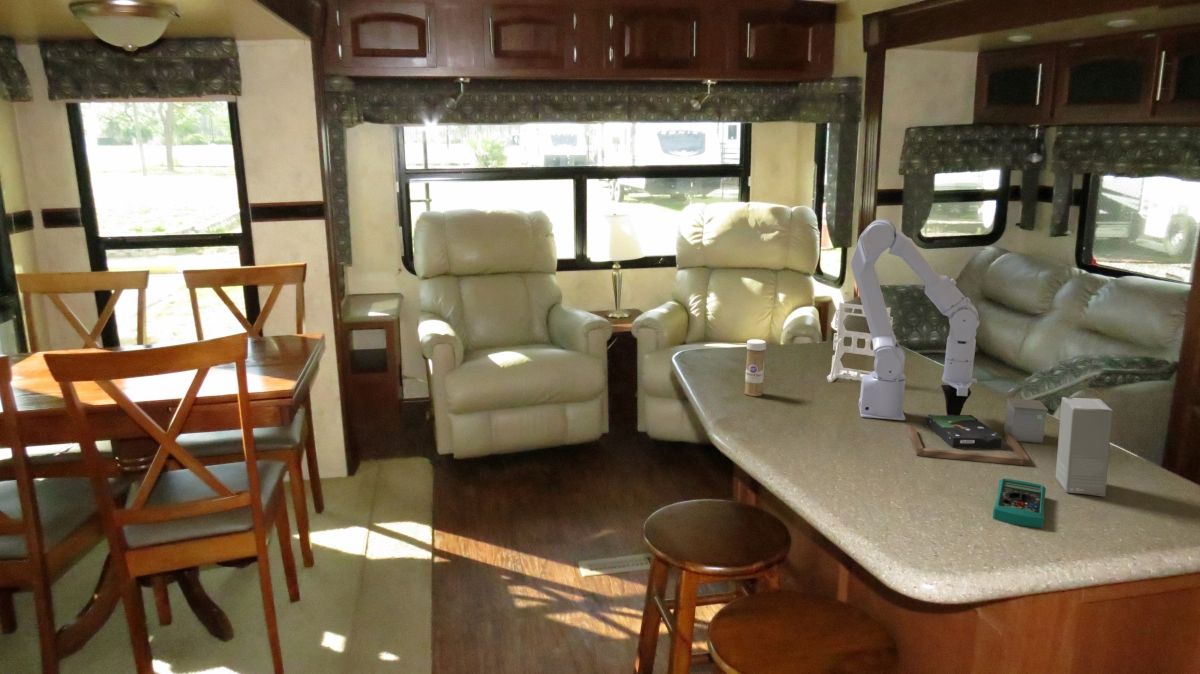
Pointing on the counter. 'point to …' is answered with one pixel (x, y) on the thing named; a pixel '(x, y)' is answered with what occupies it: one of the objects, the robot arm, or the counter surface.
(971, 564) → the counter surface
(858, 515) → the counter surface
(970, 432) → the disk drive
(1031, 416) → the junction box
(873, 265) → the robot arm
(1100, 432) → the skincare box
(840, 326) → the white open rack frame
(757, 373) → the sprinkles bottle
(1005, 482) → the digital multimeter
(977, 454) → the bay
